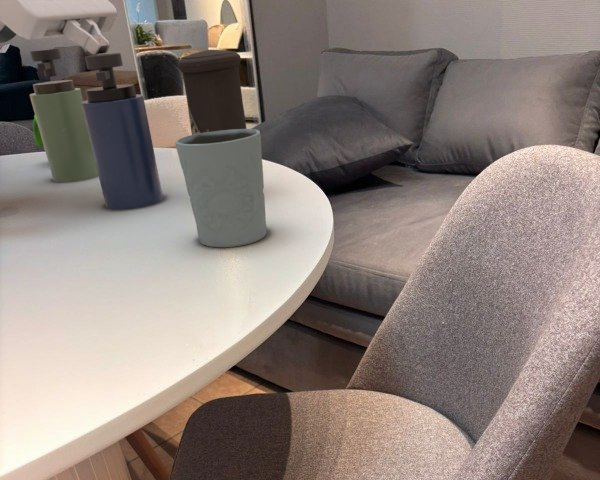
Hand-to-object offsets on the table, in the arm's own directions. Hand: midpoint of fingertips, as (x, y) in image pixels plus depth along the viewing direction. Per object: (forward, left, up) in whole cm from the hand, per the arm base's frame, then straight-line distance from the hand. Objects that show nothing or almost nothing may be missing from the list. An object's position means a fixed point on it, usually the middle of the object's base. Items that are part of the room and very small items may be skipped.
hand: (102, 50), depth 90 cm
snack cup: (-18, +44, -21) cm, 52 cm away
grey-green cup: (+15, -25, -21) cm, 36 cm away
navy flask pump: (0, -1, -5) cm, 5 cm away
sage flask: (-14, +27, -21) cm, 37 cm away
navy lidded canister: (0, 0, -21) cm, 21 cm away
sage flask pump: (-14, +26, -4) cm, 29 cm away
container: (+15, -3, -21) cm, 26 cm away
